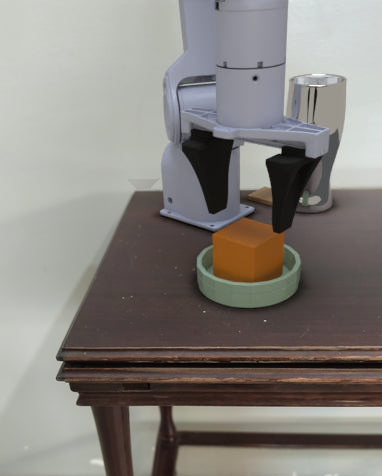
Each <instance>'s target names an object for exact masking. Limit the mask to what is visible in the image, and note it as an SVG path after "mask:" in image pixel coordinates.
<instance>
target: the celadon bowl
mask: <svg viewBox="0 0 382 476" xmlns="http://www.w3.org/2000/svg"><path fill="white" fill-rule="evenodd" d="M300 257H301V256H300V254H299V253H298V252H297V251H296V250H295V249H294V248H292V247H291V246H290V245H287V244H285V243H284V252H283V272H282V275H281V276H280V277H278V278H276V279H273V280H270V281H263V282H255V283H243V282H232V281H228V280H224V279H220V278H217V277H215V276H213V244H211V245H209V246H207V247H205V248H204V249H203V250H202V251H200V253H199V255H197V256H196V278H197V279H196V280H197V287H198V289H199V291H200V293H201V294H202V295H204V296H205V298H208V300H211V301H213V302H215V303H217V304H219V305H220V304H221V305H224V306H228V307H232V308H242V309H243V308H244V309H254V308H263V307H269V306H273V305H277V304H280V303H282V302H284V301H287V300H288V299H289V298H291V297H292V296H293V295H295V293H296V292H297V290H298V289H299V284H300V281H301V268H302V261H301V258H300Z"/></svg>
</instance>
